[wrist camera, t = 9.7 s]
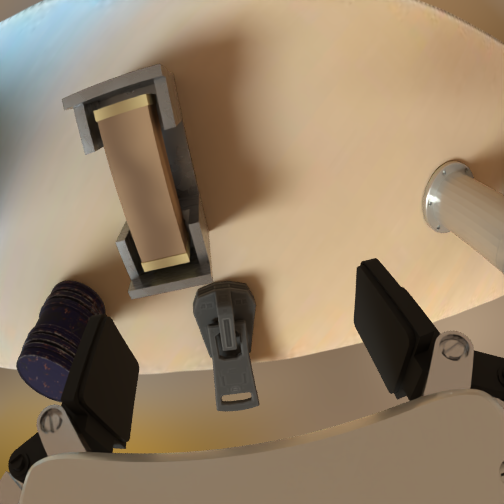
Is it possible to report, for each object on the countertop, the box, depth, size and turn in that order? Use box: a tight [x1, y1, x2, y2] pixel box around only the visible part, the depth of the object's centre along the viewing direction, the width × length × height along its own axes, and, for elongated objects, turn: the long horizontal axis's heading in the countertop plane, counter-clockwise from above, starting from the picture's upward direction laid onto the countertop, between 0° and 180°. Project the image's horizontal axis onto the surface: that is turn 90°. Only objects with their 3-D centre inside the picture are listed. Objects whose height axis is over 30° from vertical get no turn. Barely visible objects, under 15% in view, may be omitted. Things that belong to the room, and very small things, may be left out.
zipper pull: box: [193, 281, 259, 411], centre depth 46 cm, size 9×7×25 cm
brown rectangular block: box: [94, 94, 191, 272], centre depth 26 cm, size 5×16×5 cm, turn 9°
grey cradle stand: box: [62, 64, 213, 299], centre depth 28 cm, size 8×20×11 cm, turn 9°
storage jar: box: [16, 281, 105, 402], centre depth 34 cm, size 10×10×15 cm
